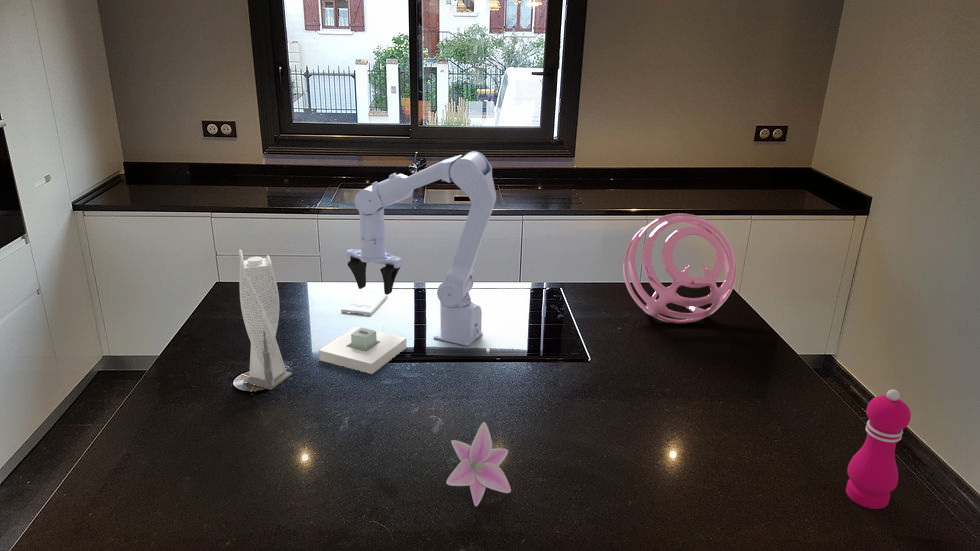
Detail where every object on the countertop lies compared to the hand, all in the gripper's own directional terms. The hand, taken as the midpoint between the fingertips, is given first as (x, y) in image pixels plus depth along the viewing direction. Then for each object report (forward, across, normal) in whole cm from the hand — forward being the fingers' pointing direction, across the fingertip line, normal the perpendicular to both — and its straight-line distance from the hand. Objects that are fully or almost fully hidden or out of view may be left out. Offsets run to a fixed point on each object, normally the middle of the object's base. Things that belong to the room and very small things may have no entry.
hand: (375, 290), depth 167 cm
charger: (+9, +6, -14) cm, 18 cm away
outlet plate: (+9, +6, -14) cm, 18 cm away
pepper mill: (+10, +108, -18) cm, 110 cm away
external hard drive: (+10, -10, +9) cm, 17 cm away
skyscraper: (+10, -6, -32) cm, 34 cm away
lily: (+10, +50, -45) cm, 68 cm away
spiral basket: (+10, +65, +40) cm, 77 cm away
